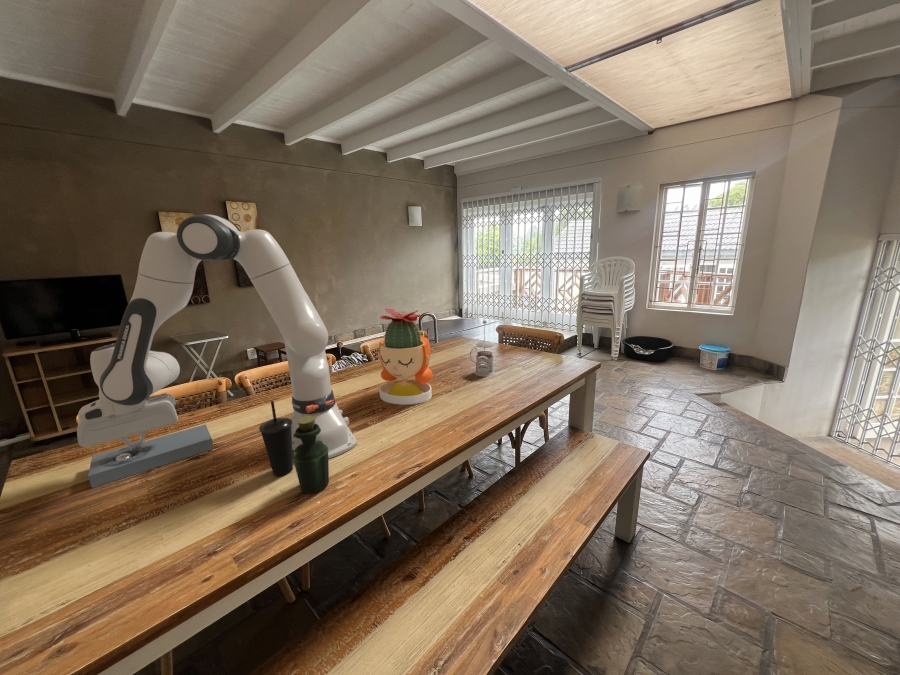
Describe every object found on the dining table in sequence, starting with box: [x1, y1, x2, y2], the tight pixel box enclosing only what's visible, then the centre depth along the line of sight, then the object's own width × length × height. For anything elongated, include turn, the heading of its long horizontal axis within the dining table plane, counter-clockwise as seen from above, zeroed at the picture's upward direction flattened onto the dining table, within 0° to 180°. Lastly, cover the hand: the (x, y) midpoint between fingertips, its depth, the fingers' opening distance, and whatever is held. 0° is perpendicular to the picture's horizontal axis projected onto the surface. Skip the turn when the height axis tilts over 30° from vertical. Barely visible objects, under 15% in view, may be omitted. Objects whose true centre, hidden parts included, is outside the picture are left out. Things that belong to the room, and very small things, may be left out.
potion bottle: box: [292, 416, 330, 495], centre depth 84 cm, size 8×8×18 cm
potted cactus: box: [377, 308, 434, 406], centre depth 138 cm, size 22×22×35 cm
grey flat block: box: [87, 423, 215, 489], centre depth 100 cm, size 26×12×4 cm, turn 131°
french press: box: [469, 320, 496, 377], centre depth 160 cm, size 10×12×25 cm
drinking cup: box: [258, 400, 294, 477], centre depth 90 cm, size 8×8×20 cm
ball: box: [114, 453, 133, 461], centre depth 96 cm, size 4×4×4 cm
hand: (137, 447), depth 97 cm, fingers closed
